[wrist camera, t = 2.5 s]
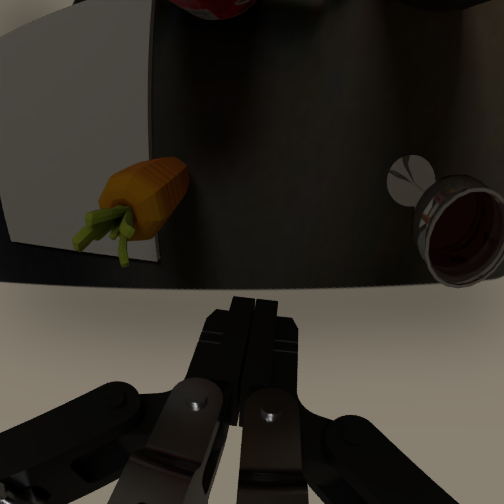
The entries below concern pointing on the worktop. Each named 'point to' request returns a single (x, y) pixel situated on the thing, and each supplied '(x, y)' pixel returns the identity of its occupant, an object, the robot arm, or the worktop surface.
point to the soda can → (214, 8)
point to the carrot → (135, 204)
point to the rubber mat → (74, 118)
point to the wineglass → (450, 221)
